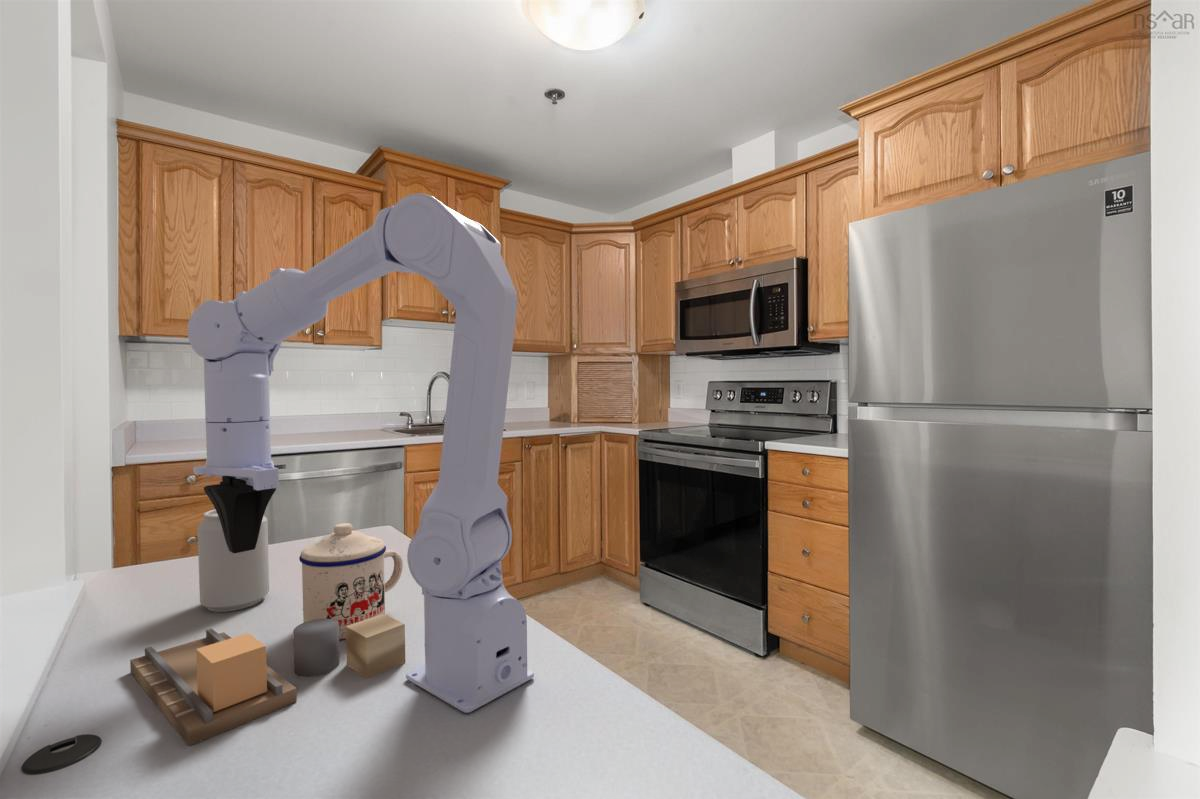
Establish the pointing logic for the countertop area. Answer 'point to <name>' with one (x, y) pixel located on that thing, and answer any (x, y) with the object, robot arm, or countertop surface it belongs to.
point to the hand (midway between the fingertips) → (242, 550)
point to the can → (230, 568)
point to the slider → (231, 671)
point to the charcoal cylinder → (316, 647)
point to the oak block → (375, 645)
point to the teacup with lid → (346, 577)
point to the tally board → (177, 693)
